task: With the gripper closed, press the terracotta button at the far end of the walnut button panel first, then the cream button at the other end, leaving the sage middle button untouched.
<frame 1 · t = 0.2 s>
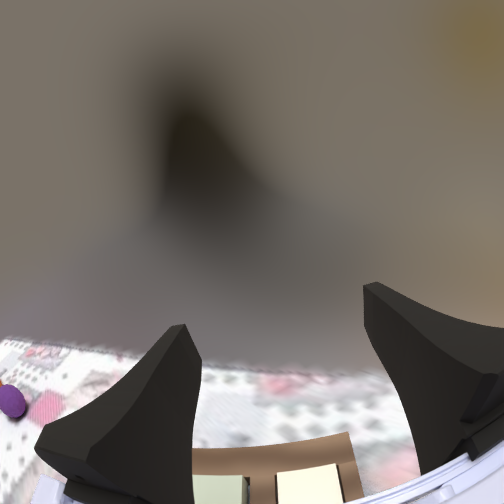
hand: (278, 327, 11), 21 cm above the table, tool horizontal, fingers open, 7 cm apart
sage button: (216, 501, 16), point 3 cm above the table, slide at 0.0 cm
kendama: (9, 399, 31), on the table
cream button: (309, 495, 16), point 3 cm above the table, slide at 0.0 cm
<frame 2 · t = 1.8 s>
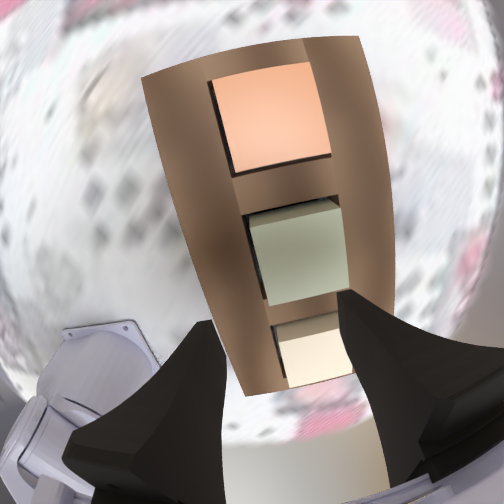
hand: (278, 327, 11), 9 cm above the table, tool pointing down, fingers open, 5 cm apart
button panel: (293, 236, 19), on the table
terracotta button: (271, 116, 14), point 3 cm above the table, slide at 0.0 cm
sage button: (300, 251, 17), point 3 cm above the table, slide at 0.0 cm
cream button: (315, 348, 20), point 3 cm above the table, slide at 0.0 cm
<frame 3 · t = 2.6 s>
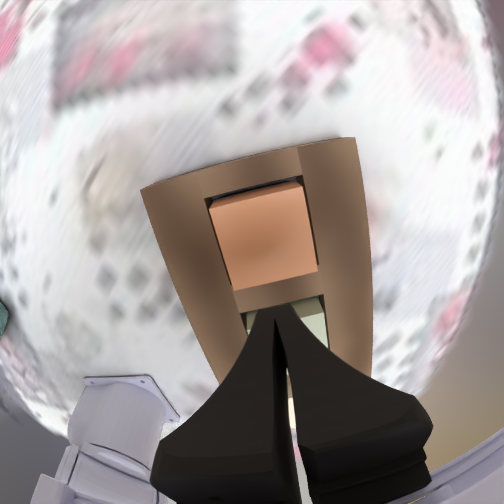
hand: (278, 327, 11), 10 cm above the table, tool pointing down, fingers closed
button panel: (284, 316, 22), on the table
terracotta button: (265, 234, 16), point 3 cm above the table, slide at 0.0 cm
sage button: (289, 338, 19), point 3 cm above the table, slide at 0.0 cm
cream button: (303, 400, 22), point 3 cm above the table, slide at 0.0 cm
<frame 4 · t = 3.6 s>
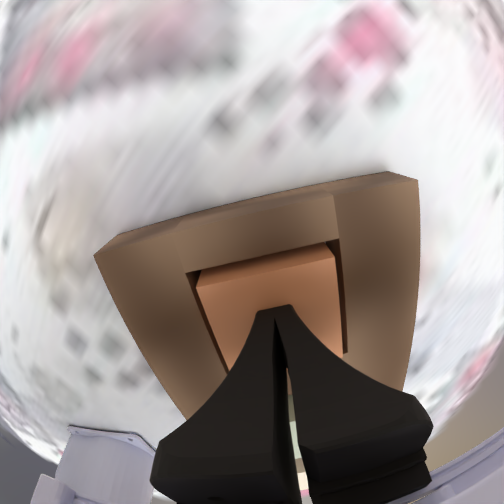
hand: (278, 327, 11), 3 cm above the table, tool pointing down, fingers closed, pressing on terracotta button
button panel: (295, 390, 16), on the table
terracotta button: (275, 310, 12), point 2 cm above the table, slide at 0.9 cm, touching gripper
sage button: (301, 424, 14), point 3 cm above the table, slide at 0.0 cm
cream button: (310, 467, 17), point 3 cm above the table, slide at 0.0 cm
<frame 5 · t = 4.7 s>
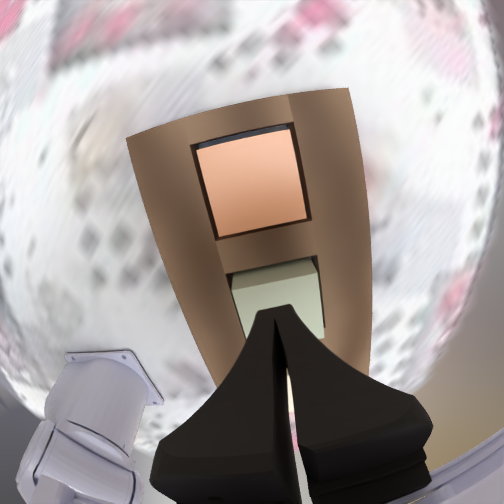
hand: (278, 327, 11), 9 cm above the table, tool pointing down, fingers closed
button panel: (276, 284, 20), on the table
terracotta button: (252, 180, 16), point 2 cm above the table, slide at 0.9 cm
sage button: (279, 305, 18), point 3 cm above the table, slide at 0.0 cm
cream button: (295, 382, 21), point 3 cm above the table, slide at 0.0 cm
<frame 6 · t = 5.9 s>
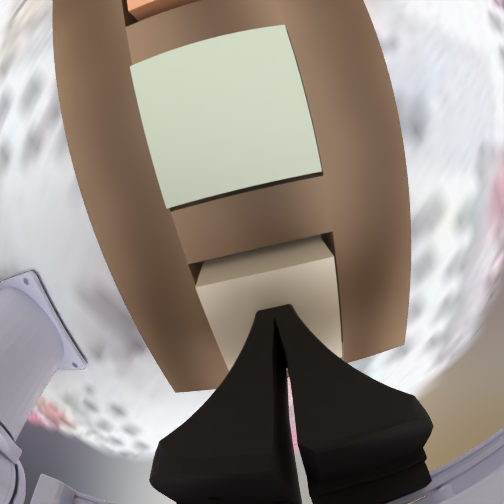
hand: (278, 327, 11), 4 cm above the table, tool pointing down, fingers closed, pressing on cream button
button panel: (230, 120, 11), on the table
sage button: (225, 114, 9), point 3 cm above the table, slide at 0.0 cm
cream button: (274, 310, 12), point 3 cm above the table, slide at 0.2 cm, touching gripper
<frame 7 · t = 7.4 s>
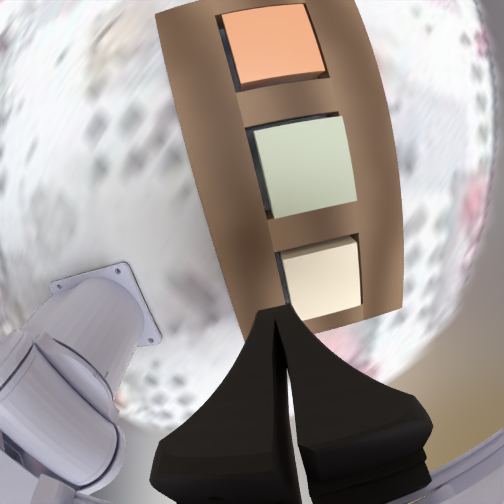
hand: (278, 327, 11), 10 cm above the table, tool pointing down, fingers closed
button panel: (295, 161, 18), on the table
terracotta button: (271, 45, 14), point 2 cm above the table, slide at 0.9 cm
sage button: (304, 164, 16), point 3 cm above the table, slide at 0.0 cm
cream button: (320, 276, 20), point 2 cm above the table, slide at 0.9 cm
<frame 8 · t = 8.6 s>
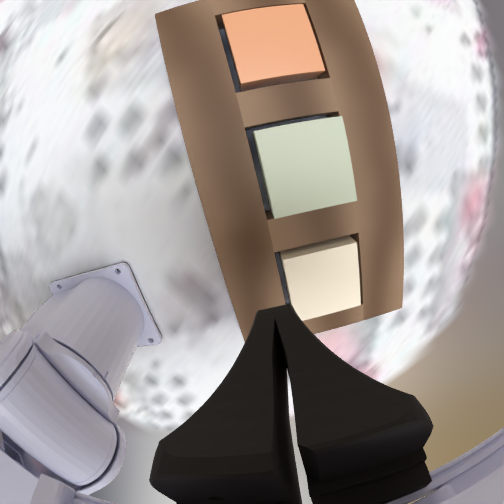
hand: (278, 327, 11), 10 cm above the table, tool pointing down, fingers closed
button panel: (295, 161, 18), on the table
terracotta button: (271, 45, 14), point 2 cm above the table, slide at 0.9 cm
sage button: (304, 164, 16), point 3 cm above the table, slide at 0.0 cm
cream button: (320, 276, 20), point 2 cm above the table, slide at 0.9 cm
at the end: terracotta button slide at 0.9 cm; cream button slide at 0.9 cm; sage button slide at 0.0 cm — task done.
